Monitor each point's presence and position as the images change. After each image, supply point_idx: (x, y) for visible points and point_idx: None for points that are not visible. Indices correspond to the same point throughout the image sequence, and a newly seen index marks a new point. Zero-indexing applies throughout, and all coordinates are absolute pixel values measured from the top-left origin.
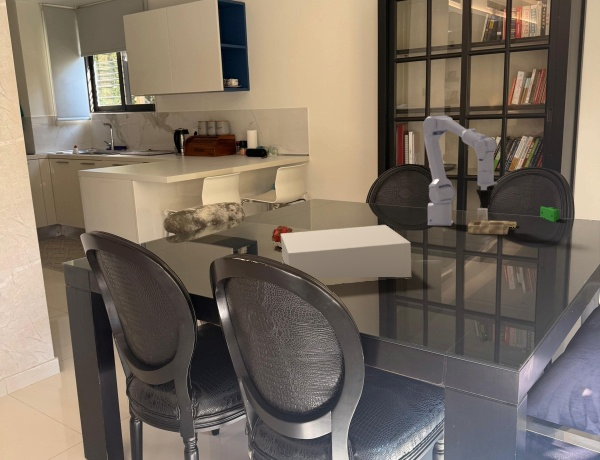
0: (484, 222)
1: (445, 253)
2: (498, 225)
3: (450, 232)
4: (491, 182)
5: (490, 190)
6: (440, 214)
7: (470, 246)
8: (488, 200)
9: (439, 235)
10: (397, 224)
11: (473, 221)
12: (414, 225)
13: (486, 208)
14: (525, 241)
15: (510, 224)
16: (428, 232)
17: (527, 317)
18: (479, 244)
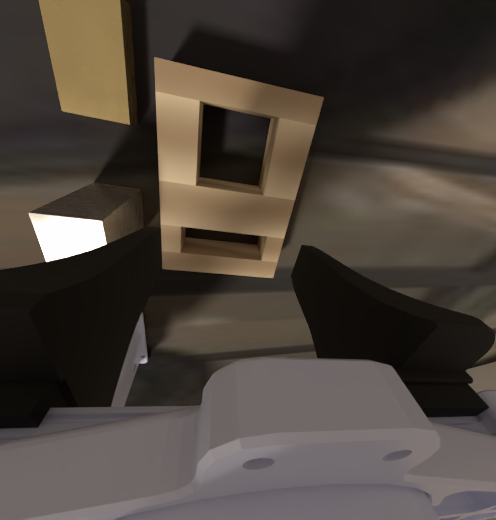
0: (206, 214)
1: (477, 303)
2: (289, 149)
3: (246, 305)
4: (425, 507)
5: (472, 344)
6: (129, 369)
7: (444, 254)
8: (357, 274)
9: (284, 326)
10: (144, 405)
11: (183, 259)
12: (150, 380)
13: (46, 219)
14: (485, 16)
15: (124, 41)
16: (242, 348)
17: None
18: (433, 229)
